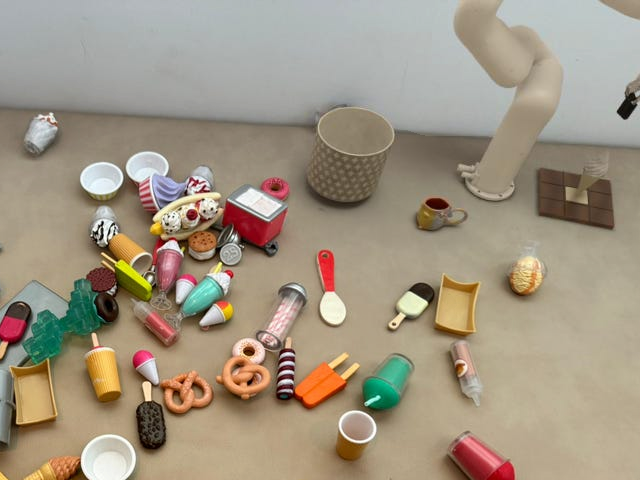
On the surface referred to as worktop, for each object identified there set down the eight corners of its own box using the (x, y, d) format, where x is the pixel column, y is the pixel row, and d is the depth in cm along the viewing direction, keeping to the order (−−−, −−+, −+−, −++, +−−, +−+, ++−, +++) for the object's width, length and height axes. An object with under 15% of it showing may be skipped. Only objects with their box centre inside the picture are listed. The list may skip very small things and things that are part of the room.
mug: (414, 229, 164) (422, 210, 158) (415, 211, 167) (424, 192, 162) (461, 237, 162) (472, 219, 156) (462, 219, 165) (472, 200, 160)
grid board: (538, 215, 166) (541, 211, 165) (538, 170, 175) (540, 166, 174) (611, 229, 163) (615, 225, 162) (607, 183, 172) (610, 179, 171)
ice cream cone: (587, 191, 168) (621, 145, 156) (586, 204, 166) (620, 158, 153) (567, 186, 170) (599, 140, 157) (565, 198, 167) (598, 152, 154)
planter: (303, 161, 179) (316, 105, 163) (371, 164, 177) (390, 108, 162) (306, 208, 168) (319, 153, 153) (378, 212, 167) (398, 157, 152)
